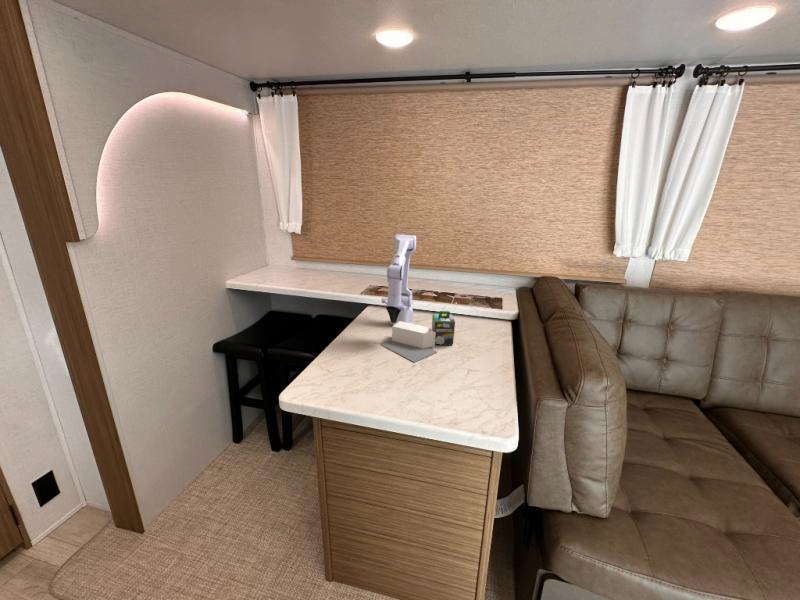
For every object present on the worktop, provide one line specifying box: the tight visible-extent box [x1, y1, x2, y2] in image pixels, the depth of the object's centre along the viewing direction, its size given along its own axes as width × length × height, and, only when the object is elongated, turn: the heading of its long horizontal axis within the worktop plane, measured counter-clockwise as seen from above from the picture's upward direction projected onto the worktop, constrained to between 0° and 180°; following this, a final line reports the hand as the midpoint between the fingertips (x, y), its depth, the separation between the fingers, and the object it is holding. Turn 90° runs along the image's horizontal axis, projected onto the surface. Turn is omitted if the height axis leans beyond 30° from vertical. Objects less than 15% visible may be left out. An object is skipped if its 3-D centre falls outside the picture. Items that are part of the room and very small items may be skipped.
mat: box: [381, 340, 438, 364], centre depth 150 cm, size 14×20×1 cm
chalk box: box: [431, 310, 456, 346], centre depth 157 cm, size 9×9×15 cm
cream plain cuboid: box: [391, 321, 436, 348], centre depth 154 cm, size 7×7×19 cm
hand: (393, 322), depth 155 cm, fingers closed
